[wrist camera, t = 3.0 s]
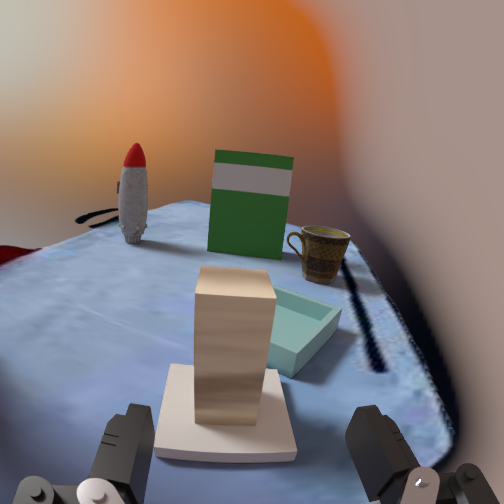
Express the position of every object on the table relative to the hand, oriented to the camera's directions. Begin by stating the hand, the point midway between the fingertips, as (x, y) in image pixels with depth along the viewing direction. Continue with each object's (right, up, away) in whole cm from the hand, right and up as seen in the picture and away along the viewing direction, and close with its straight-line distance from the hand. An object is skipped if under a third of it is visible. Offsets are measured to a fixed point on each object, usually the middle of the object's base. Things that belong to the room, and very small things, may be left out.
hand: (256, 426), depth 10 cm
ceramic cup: (+12, +1, +52) cm, 53 cm away
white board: (-3, -8, +14) cm, 17 cm away
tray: (+2, -4, +30) cm, 30 cm away
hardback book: (-2, +7, +66) cm, 66 cm away
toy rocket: (-31, +9, +63) cm, 71 cm away
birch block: (-3, -7, +14) cm, 16 cm away
